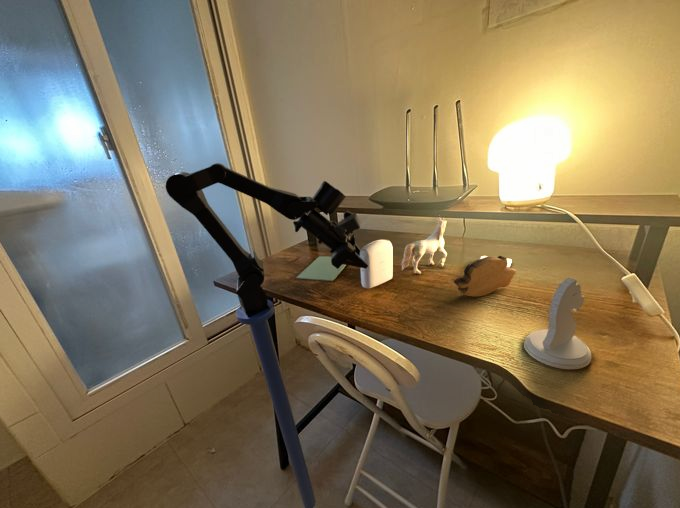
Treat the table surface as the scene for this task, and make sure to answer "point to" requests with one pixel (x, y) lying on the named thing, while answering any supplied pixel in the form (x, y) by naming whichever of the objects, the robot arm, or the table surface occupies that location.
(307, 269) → the felt mat
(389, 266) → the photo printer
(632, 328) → the table surface
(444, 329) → the table surface
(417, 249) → the unicorn figurine
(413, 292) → the table surface
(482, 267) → the wooden carving
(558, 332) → the chess piece
